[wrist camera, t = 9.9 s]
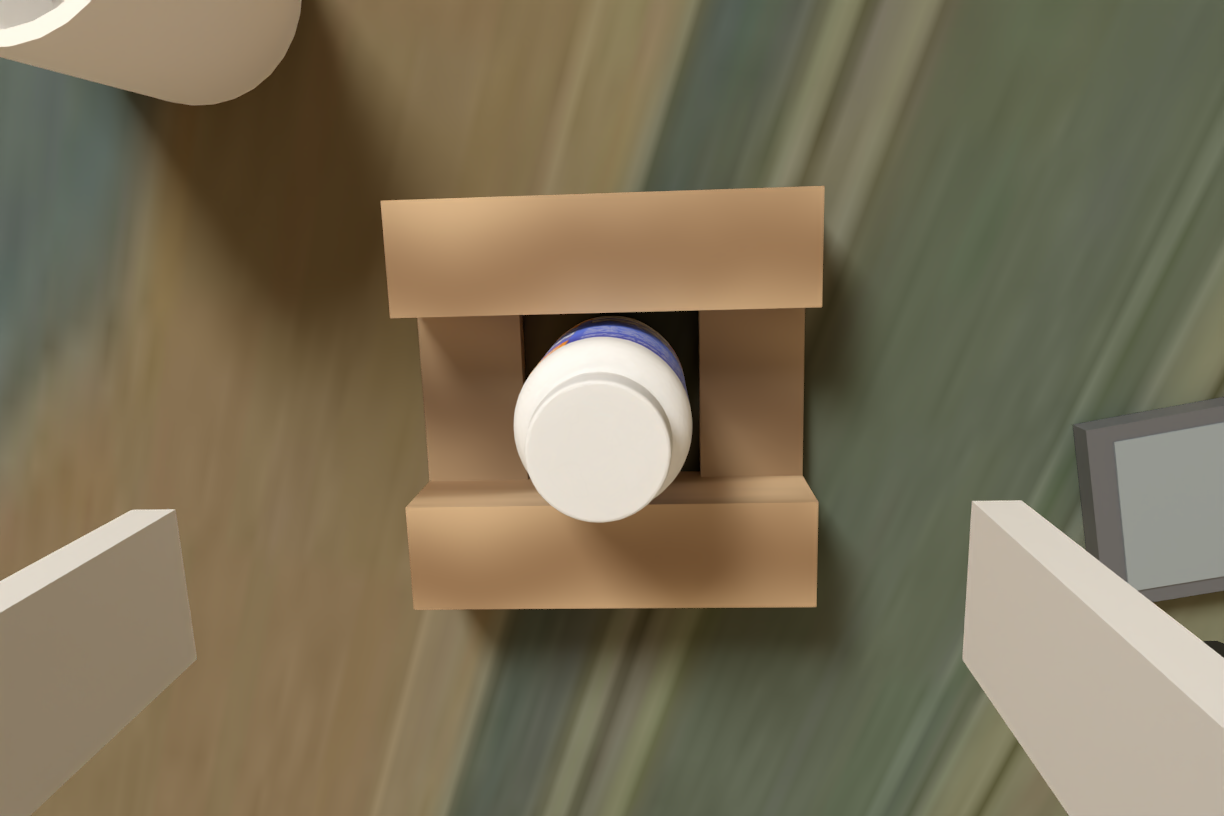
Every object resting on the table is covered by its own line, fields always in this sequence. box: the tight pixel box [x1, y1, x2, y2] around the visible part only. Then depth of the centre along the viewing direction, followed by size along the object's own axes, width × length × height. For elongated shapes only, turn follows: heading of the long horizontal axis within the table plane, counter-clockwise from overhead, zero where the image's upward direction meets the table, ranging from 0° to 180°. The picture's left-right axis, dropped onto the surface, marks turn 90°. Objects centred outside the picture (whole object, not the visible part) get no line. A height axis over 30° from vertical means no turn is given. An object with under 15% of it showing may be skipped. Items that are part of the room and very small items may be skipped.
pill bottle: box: [514, 316, 692, 523], centre depth 28 cm, size 5×5×10 cm
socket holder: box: [381, 186, 824, 610], centre depth 30 cm, size 14×14×4 cm
